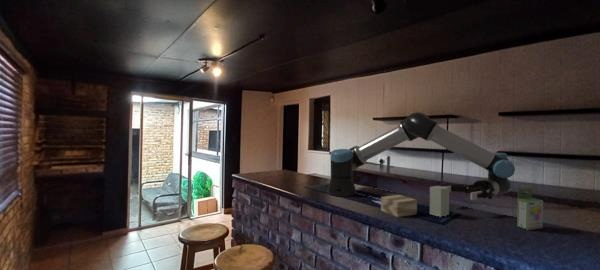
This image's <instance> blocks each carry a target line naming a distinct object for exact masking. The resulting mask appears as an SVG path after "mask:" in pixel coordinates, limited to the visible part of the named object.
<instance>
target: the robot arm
mask: <svg viewBox="0 0 600 270" xmlns="http://www.w3.org/2000/svg"><path fill="white" fill-rule="evenodd" d="M418 138H420V139H423V140H424V141H426V142H428V141H431V142H433V143H436V144H437V145H438V146H440V147H443V148H444V149H446V150H448V151H450V152H452V153H453V154H455V155H458V156H460V157H462V158H463V159H465V160H467V161H469V162H471V163H473V164H475V165H477V166H479V167H480V168H483V169H484V170H486V171H487V178H486V179H482V180H480V179H479V180H476V181H474V183H473V184H466V183H463V184H445V185H444V186H443V187H447V188H449V194H450V193H452V192H456V193H457V192H460V193H461V192H462V193H463V192H464V194H465V193H466V194H470V195H469V196H470V200H471V201H473V200H474V201H475V200H479V199H487V198H488V200H492V199H493V197H494V196H499V195H500V196H501V195H505V194H507V193H509V192H511V191H512V188H513V184H512V182H511V181H510V179H509V178H510V177H512V176H513V175H515V173H516V172H515V171H516V167H515V165H514V163H512V161H510V160H509V159H508V154H507V153H505V152H492V151H490V150H487V149H485V148H483V147H481V146H479V145H477V144H475V143H473V142H471V141H470V140H469V139H465V138H463V137H461V136H459V135H457V134H456V133H454V132H451V131H450V130H447V129H446V128H444V127H442V126H440V125H439V122H436V121H435V120H433V119H431V118H430V117H429V116H428V115H427V114H425V113H422V112H417V111H416V112H412V113H410V114H409V115H408V116H407V117H406V118H405V119H403V120H401V121H399V123H398V126H395V127H394V128H392V129H390V130H388V131H386V132H384V133H383V134H381V135H378V136H377V137H375V138H374V139H372V140H369V141H367V142H366V143H364V144H362V145H360V146H359V145H354V146H352V147H351V148H349V149H348V148H339V149H334V150H332V151H331V152H330V179H329V183H328V187H327V189H326V190H327V191H326V192H327V194H328V195H330V196H334V197H353V196H355V195H357V193H356V192H357V189H356V186H355V183H354V180H353V177H354V176H353V173H354V172H353V171H354V170H356V169H358V168H360V167H362V166H364V165H366V164H367V161H368V160H370V159H372V158H374V157H376V156H378V155H380V154H382V153H384V152H386V151H387V150H390V149H392V148H394V147H396V146H398V145H400V144H402V143H404V142H406V141H408V142H412V141H414V140H416V139H418Z"/></svg>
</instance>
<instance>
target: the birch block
mask: <svg viewBox="0 0 600 270" xmlns="http://www.w3.org/2000/svg"><path fill="white" fill-rule="evenodd" d="M380 211H381V212H383V213H387V214H388V215H391V216H394V217H396V218H399V217H407V216H413V215H418V200H417V199H415V198H412V197H408V196H404V195H402V194H395V195H386V196H380Z"/></svg>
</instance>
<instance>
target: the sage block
mask: <svg viewBox="0 0 600 270" xmlns="http://www.w3.org/2000/svg"><path fill="white" fill-rule="evenodd" d="M429 215H432V216H436V217H438V216H439V218H443V217H442V216H444V217H447V215H449V216H450V193H449V188H447V187H444V186H441V185H434V186H429Z"/></svg>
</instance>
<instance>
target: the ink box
mask: <svg viewBox="0 0 600 270" xmlns="http://www.w3.org/2000/svg"><path fill="white" fill-rule="evenodd" d="M524 192H527V193H524ZM523 193H524V194H523ZM532 193H533V188H532V187H529V188H527V187H526V188H518V189H517V210H516V211H517V213H516V214H517V215H516V216H517V217H516V226H517V227H518V228H521V229H523V230H525V229H526V230H527V231H532V230H540V229H543V228H544V200H543V199H538V198H533V196H532ZM526 230H525V231H526Z"/></svg>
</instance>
